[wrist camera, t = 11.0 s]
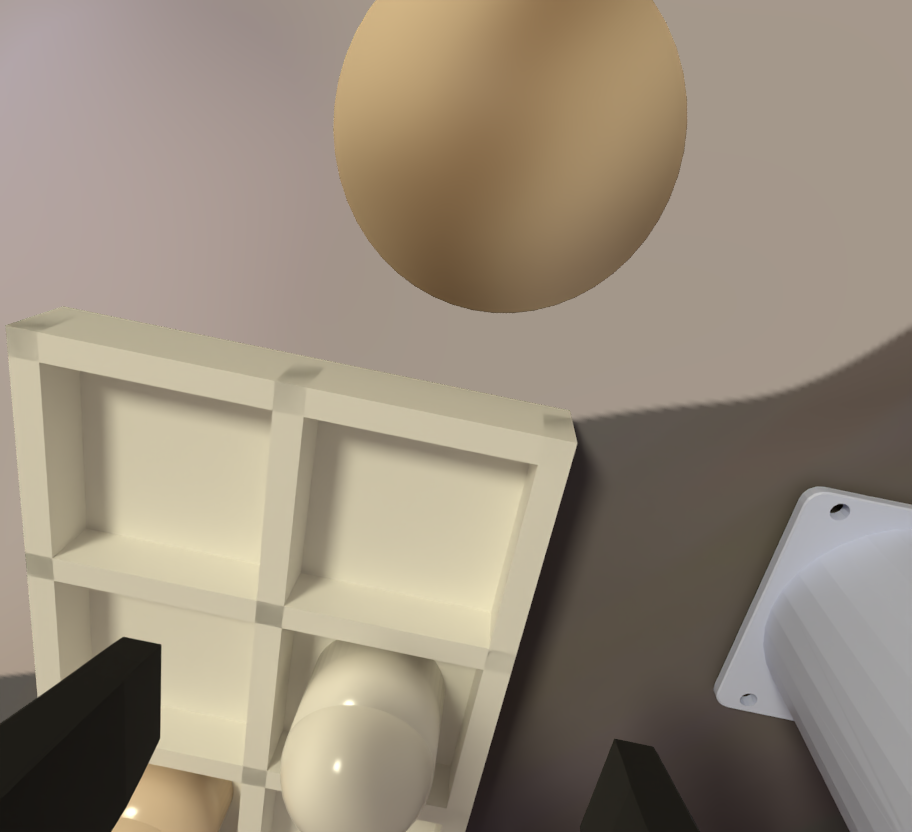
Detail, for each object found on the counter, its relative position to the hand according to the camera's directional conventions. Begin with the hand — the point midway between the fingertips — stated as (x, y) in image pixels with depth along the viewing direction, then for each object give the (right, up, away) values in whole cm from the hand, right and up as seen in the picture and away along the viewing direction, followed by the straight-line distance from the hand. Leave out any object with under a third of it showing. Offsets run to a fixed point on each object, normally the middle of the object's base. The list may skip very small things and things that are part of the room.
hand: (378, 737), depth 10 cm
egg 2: (-1, -4, +11) cm, 12 cm away
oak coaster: (+2, +12, +5) cm, 13 cm away
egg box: (-5, -3, +12) cm, 13 cm away
